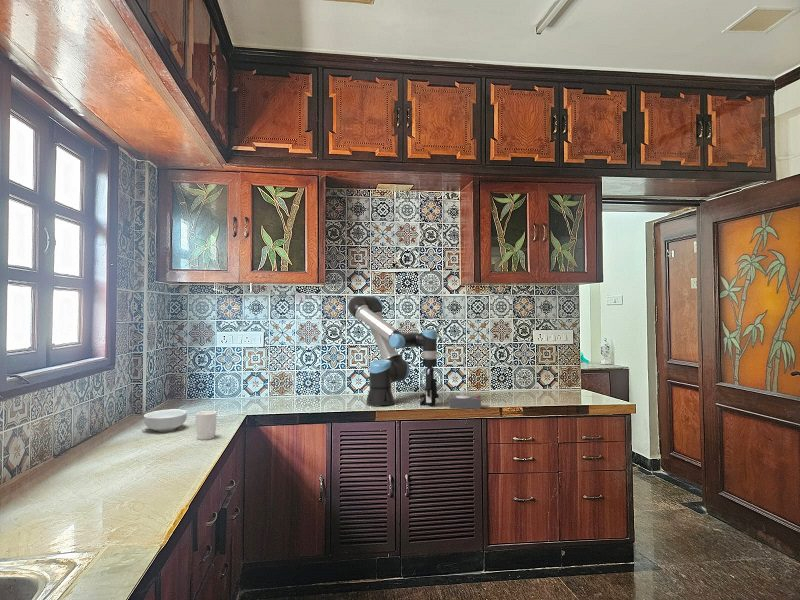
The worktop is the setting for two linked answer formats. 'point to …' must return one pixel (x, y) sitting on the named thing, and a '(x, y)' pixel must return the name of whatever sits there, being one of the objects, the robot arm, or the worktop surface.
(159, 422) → the cereal bowl
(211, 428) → the white cup
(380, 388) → the robot arm
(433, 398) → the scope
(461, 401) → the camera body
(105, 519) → the worktop surface
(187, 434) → the worktop surface
